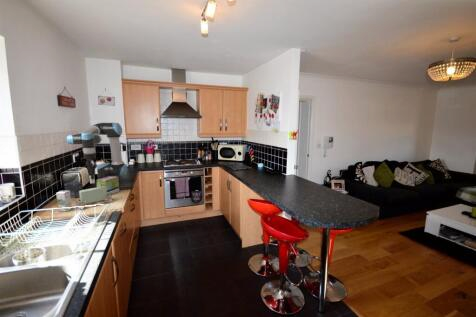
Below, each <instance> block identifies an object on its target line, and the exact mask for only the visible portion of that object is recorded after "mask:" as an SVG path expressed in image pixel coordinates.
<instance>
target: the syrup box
mask: <svg viewBox="0 0 476 317" xmlns="http://www.w3.org/2000/svg"><path fill="white" fill-rule="evenodd" d="M55 194H56V201H57V209H58V208H62V207H72V208H73V206H72V197H70V191H65V190H59V191H58V192H56V193H55ZM71 210H72V209H58V212H59V213H61V212H62V213H67V212H69V211H71Z"/></svg>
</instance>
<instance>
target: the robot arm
mask: <svg viewBox="0 0 476 317" xmlns="http://www.w3.org/2000/svg"><path fill="white" fill-rule="evenodd" d="M101 135H102V136H106V138H108V140H109V141H108V142H109V147H110V152H111V161H112V162H111V163H110V162H104V163H99V164H98V165H97V166H96V162H95V160H94V159H96V157H97V156H96V147H95V145H98V144H100V143H101V142H102V137H101ZM122 135H123V128H122V126H121V124H120V123H118V122H98V123H95V124H93V125H90V126H89V127H88V128H87V129H84V130H83V131H80V132H77V133H75V134H68V135H67V136H66V142H67V144H68V145H82V152H83V159H84V160H86V161H85V164H86V170H87V174H88V176H89V183H90V184H96V182H95V181H96V180H95V175H96V171H97V180H98V179H101V178H105V177H109V176H114V177H118V176H124V175H127V174H126V173H127V170H128V166H127V163H125V161H123V156H122V148H121V142H120V138H121V137H122Z"/></svg>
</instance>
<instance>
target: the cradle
mask: <svg viewBox="0 0 476 317" xmlns="http://www.w3.org/2000/svg"><path fill="white" fill-rule="evenodd" d="M74 201H75V202H74V203H75V205H74V206H85V205H94V204H103V205H106V204H110V203H113V198H112V194H111V195H110V194H108V193H107V196H105V200H101V201H97V202H93V203H89V204H86V201H82V202H80V198H77V199H75V200H74ZM90 208H95V207H94V206H93V207H84V208H83V210H88V209H90ZM79 209H81V208H79ZM79 209H78V210H79ZM83 210H82V211H83Z"/></svg>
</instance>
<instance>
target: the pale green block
mask: <svg viewBox="0 0 476 317" xmlns="http://www.w3.org/2000/svg"><path fill="white" fill-rule="evenodd" d="M79 195H80V197H79V199H80V202H82V201H86V204H89V203H93V202H97V201H101V200H105V196H107V190H106V187H105V186H102V187H97V186H96V187H93V188H86V189H83V190H81V191H79Z"/></svg>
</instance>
